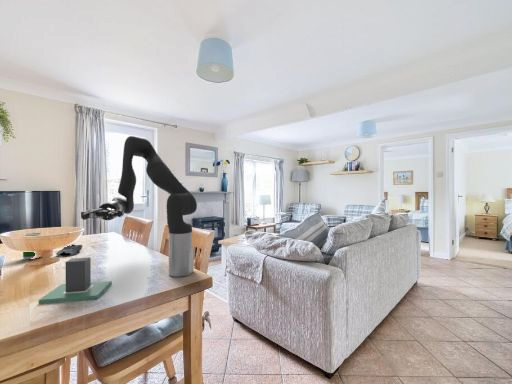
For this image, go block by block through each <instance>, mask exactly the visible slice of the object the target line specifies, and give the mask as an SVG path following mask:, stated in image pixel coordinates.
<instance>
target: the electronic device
mask: <svg viewBox="0 0 512 384" xmlns="http://www.w3.org/2000/svg"><path fill="white" fill-rule="evenodd" d="M66 246H67V247H63V248H62V249H60V250H58V251H57V252H56V256H57V257H59V256H61V257H60V258H65V257H67V256H63V255H66V254H69V255H68V257H72V256H76V255H77V254H79V253H80V252H81V250H82V249H83V247H84V246H83V244H77V245H76V244H75V243H74V244H69V246H68V245H66ZM63 252H65V253H64V254H62V253H63ZM60 254H61V255H60Z"/></svg>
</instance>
